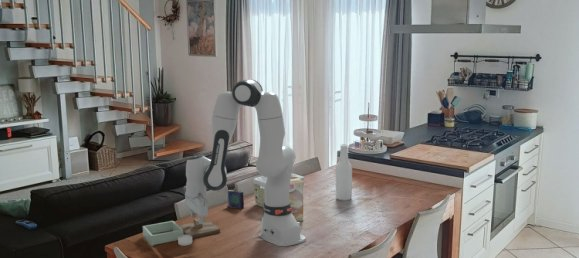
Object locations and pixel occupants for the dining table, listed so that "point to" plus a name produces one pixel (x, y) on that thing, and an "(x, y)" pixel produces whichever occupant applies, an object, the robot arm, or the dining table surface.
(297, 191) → the coffeecake box
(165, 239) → the dish
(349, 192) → the alcohol
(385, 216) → the dining table surface
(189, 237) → the white rounded piece
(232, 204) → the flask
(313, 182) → the dining table surface
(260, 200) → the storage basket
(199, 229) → the lid
